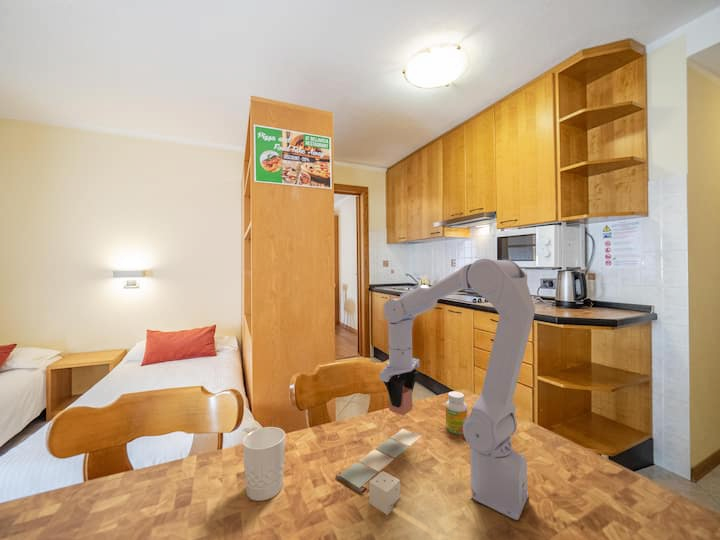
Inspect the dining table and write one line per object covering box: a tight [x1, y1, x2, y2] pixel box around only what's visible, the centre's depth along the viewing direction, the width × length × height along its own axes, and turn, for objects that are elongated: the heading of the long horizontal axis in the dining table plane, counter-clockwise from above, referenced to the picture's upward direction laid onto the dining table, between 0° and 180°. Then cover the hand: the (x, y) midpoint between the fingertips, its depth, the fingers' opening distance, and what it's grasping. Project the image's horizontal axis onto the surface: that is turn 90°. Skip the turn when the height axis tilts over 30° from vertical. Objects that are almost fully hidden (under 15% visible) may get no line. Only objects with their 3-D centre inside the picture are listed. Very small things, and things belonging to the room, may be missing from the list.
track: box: [335, 428, 422, 495], centre depth 68 cm, size 7×24×1 cm, turn 139°
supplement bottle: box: [445, 391, 468, 435], centre depth 78 cm, size 5×5×10 cm
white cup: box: [242, 426, 286, 502], centre depth 58 cm, size 8×8×10 cm
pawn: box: [388, 386, 413, 416], centre depth 73 cm, size 4×4×7 cm
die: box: [368, 470, 401, 516], centre depth 54 cm, size 4×4×4 cm
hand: (401, 402), depth 73 cm, fingers closed on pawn, 4 cm apart
